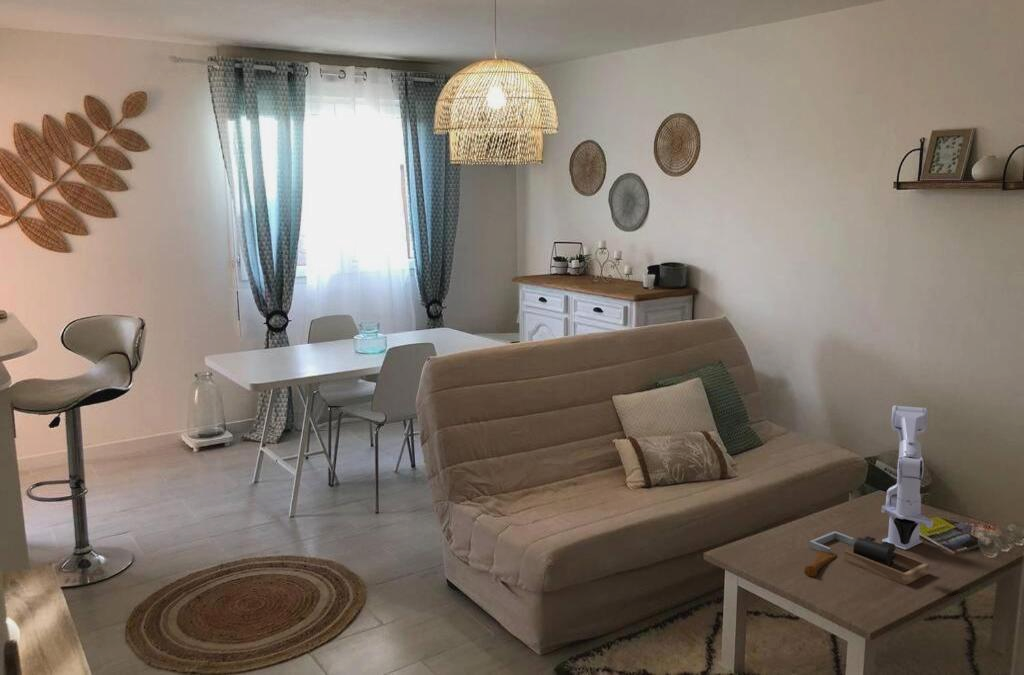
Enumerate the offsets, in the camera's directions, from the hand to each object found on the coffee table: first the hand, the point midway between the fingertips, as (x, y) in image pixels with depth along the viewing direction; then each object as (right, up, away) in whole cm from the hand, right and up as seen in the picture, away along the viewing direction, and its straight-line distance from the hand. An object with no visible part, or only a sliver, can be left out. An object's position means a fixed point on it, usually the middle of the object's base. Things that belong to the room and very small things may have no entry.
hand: (904, 543), depth 240 cm
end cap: (-5, -8, +9) cm, 13 cm away
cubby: (-3, -8, +7) cm, 11 cm away
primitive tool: (-22, -9, +9) cm, 25 cm away
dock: (-13, -6, +20) cm, 25 cm away
